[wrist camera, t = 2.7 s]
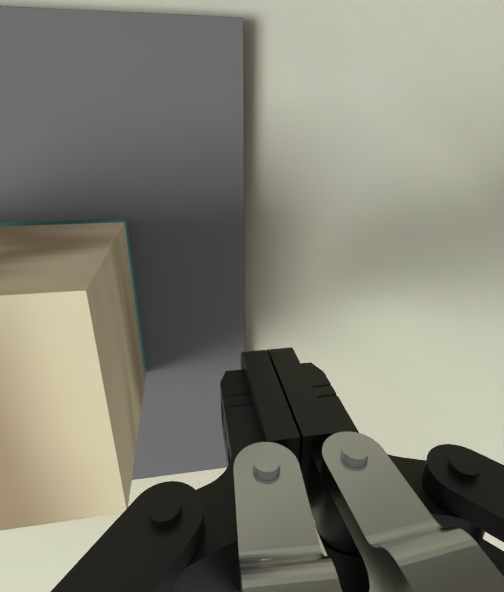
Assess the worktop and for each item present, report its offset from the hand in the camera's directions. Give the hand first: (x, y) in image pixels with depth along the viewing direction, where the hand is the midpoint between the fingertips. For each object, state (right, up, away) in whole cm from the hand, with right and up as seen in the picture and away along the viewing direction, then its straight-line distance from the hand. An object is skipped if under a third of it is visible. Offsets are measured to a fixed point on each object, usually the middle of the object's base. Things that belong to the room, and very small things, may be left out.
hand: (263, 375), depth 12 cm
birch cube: (-9, +2, +4) cm, 10 cm away
